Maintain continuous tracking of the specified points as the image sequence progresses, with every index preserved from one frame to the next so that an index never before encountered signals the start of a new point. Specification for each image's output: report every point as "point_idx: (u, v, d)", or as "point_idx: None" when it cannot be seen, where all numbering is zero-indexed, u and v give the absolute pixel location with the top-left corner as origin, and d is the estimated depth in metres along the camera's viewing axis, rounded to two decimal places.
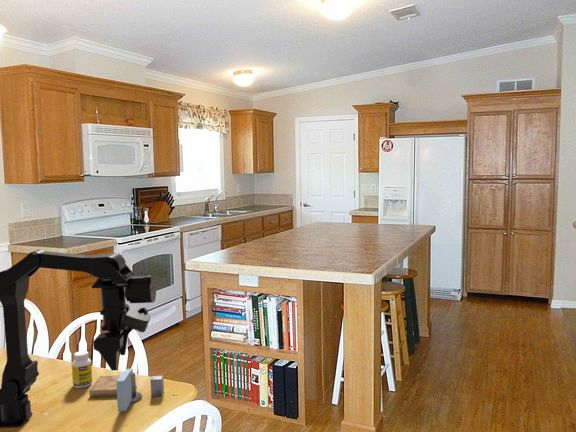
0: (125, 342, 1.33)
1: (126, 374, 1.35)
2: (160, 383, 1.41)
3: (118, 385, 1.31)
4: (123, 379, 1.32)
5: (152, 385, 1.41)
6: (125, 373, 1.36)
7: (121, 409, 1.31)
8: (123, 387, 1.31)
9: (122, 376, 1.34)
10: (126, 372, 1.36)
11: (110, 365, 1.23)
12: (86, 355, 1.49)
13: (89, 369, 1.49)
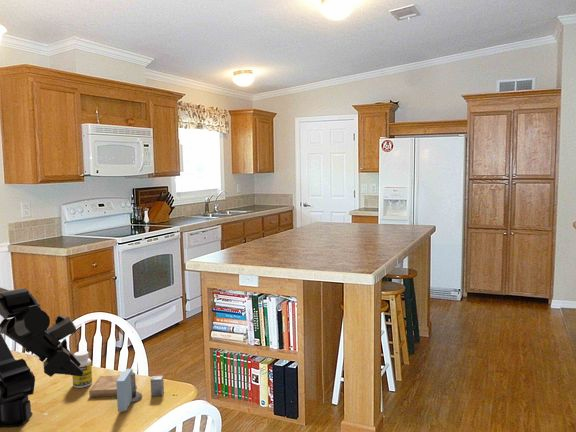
0: (71, 355, 1.31)
1: (126, 374, 1.35)
2: (160, 383, 1.41)
3: (118, 385, 1.31)
4: (123, 379, 1.32)
5: (152, 385, 1.41)
6: (125, 373, 1.36)
7: (121, 409, 1.31)
8: (123, 387, 1.31)
9: (122, 376, 1.34)
10: (126, 372, 1.36)
11: (76, 374, 1.25)
12: (86, 355, 1.49)
13: (89, 369, 1.49)
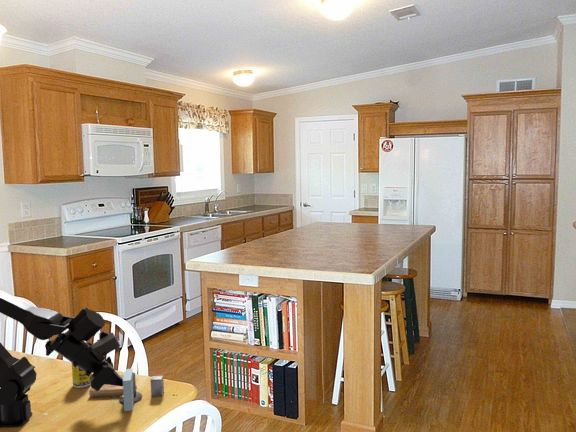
0: (115, 373, 1.34)
1: (129, 374, 1.35)
2: (160, 383, 1.41)
3: (125, 385, 1.31)
4: (129, 378, 1.32)
5: (152, 385, 1.41)
6: (128, 372, 1.36)
7: (128, 408, 1.32)
8: (130, 386, 1.31)
9: (126, 376, 1.34)
10: (128, 372, 1.36)
11: (118, 384, 1.32)
12: None
13: None
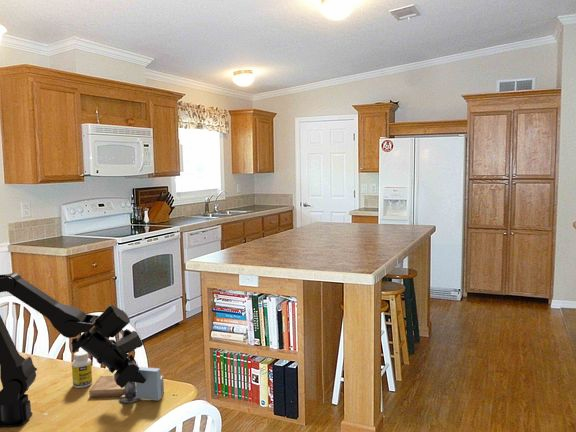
0: (137, 371, 1.36)
1: (145, 368, 1.39)
2: None
3: (157, 374, 1.37)
4: (156, 368, 1.38)
5: None
6: (141, 368, 1.39)
7: (159, 397, 1.38)
8: (160, 375, 1.38)
9: (148, 369, 1.38)
10: (140, 368, 1.39)
11: (139, 381, 1.36)
12: (86, 355, 1.49)
13: (89, 369, 1.49)
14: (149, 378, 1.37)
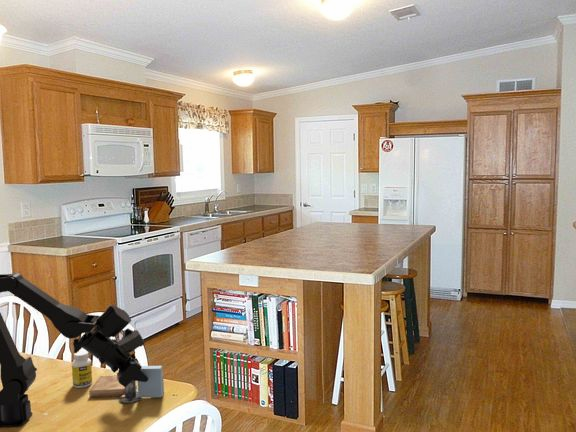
0: (140, 370, 1.37)
1: (146, 366, 1.40)
2: None
3: (160, 371, 1.39)
4: (158, 366, 1.40)
5: None
6: (143, 367, 1.40)
7: (162, 393, 1.40)
8: (162, 372, 1.40)
9: (150, 367, 1.39)
10: None
11: (142, 380, 1.36)
12: (86, 355, 1.49)
13: (89, 369, 1.49)
14: (152, 376, 1.39)
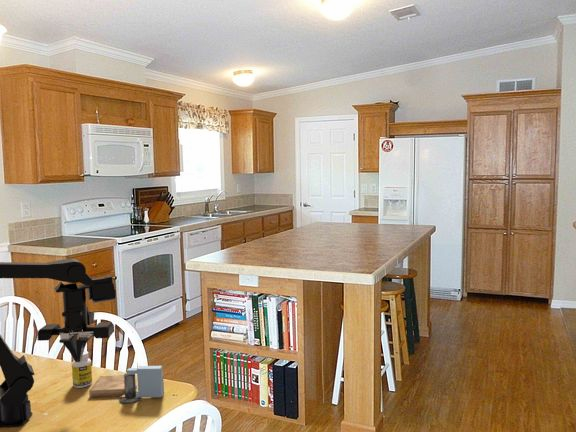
0: (77, 348, 1.37)
1: (146, 366, 1.40)
2: None
3: (160, 371, 1.39)
4: (158, 366, 1.40)
5: None
6: (143, 367, 1.40)
7: (162, 393, 1.40)
8: (162, 372, 1.40)
9: (150, 367, 1.39)
10: (141, 367, 1.40)
11: (80, 357, 1.36)
12: (86, 355, 1.49)
13: (89, 369, 1.49)
14: (152, 376, 1.39)
